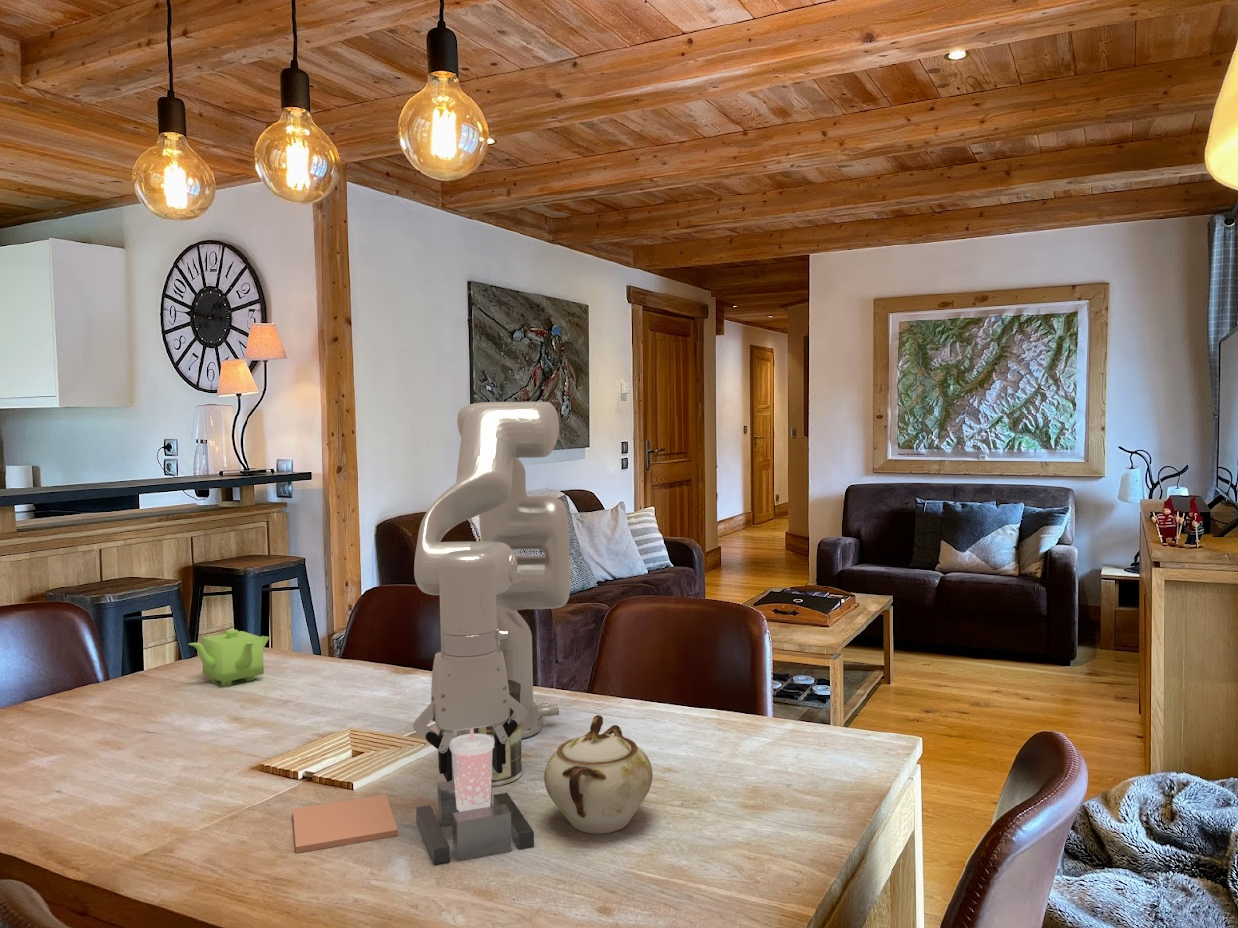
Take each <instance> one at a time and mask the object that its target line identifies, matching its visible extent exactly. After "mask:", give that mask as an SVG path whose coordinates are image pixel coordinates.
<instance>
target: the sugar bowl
mask: <svg viewBox="0 0 1238 928" xmlns="http://www.w3.org/2000/svg"><path fill="white" fill-rule="evenodd" d="M603 725H604V717H603V715H600V714H596V715H595V716H594V717H593V718H592V721H591V724H590V730H589V731H588V732H587V733H586V734H584V735H581V736H577V737H574V738H571V739H569V740H568V739H567V741H564V742H563V743H561V744H560V745H559V746H558V748H557V750H556V751H555V752H553V753H552V755H551V757H550V758H549V759H548V762H547V763H546V766H545V770H544V776H543V781H544V786H545V787H544V788H545V789H546V792H547V794H548V796H549V798H550V799H551V801H552V802H553V803H554V805H555V806H556V807H557V809H558V810H559V811H560V812H561V813H562V814H563V815H564V817H565V818H566V819H567V821H568V822H569V823H570V825H571V826H572V827H573V828H574V829H576V830H578V831H580V832H584V833H587V834H597V835H598V834H600V835H601V834H602V835H603V834H610V833H614V832H617V831H619V830H622V829H624V828H625V827H626V826H627V825H628V824H629V823H630V822H631V820H632V818H633V817H634V815H635V814H636V812H637V811H638V810H639V808H640V807H641V806H642V804H643V802H644V801H645V799H646V797H647V795H648V794H649V792H650V789H651V786H652V783H653V778H654V777H653V767H652V763H651V761H650V758H649V757H648V755H647V754H646V753H645V751H643V749H641V748H640V747H639V746H638V745H637V744H636V742H634V741H633V740H632V739H630V738H628V737H625V736H624V735H623V732H622V729H621V727H620V726H619V725H617V724H614V725H611V726H609V728H608V729H606V730H605V731H604V732H603V733H600V732H601V729H602V726H603ZM613 734H614V735H613Z"/></svg>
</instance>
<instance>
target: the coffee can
mask: <svg viewBox="0 0 1238 928" xmlns="http://www.w3.org/2000/svg"><path fill="white" fill-rule="evenodd" d="M507 680H508V679H507ZM508 688H509V695H511V696H512V697H513V698H514V699H515V700H516V701H518V702H519V703H520V690H521V685H520V684H519V683H518V682H516V681H513V680H508ZM513 713H514V711H513V710H512V709H511V708H510V716H509V718H511V716H512V715H513ZM504 723H505V722H504ZM504 723H502V725H503V724H504ZM456 733H457V734H456V737H458V736H461V735H465V734H470V729H467V730H459V731H456ZM473 733H474V734H475V733H477V734H486V735H490V736H492V737H493V738H494V735H495V733H494V731H493V729H492V727H491V726H487V727H481V728H474V729H473ZM505 748H506V764H502V773H499V774H498V773H497V772H496V771H495V769H494V768H493V766H492V778H491V787H499V786H503V785H507V784H510V783H513V782H515V781H517V780H518V779H519V778H521V777H520V776H522V775H523V773H524V772H523V760H522V758H523V756H522V755H523V754H522V739H521V723H519V725H518V727H517V729H516V730H515V731H514V732H513V733H512V735H511V736H510V737H509V738H508V742H507V743H505Z"/></svg>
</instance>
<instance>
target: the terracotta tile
mask: <svg viewBox="0 0 1238 928" xmlns="http://www.w3.org/2000/svg"><path fill="white" fill-rule="evenodd" d="M394 817H395V816H394V814H393V812H392V808H391V806H390V802H389V800H388V797H387V794H379V795H374V796H367V797H361V798H356V799H353V798H352V799H347V800H341V801H335V802H334V801H333V802H329V803H322V804H317V805H316V804H315V805H310V806H302V807H298V808H297V807H296V808H293V809H292V820H293V832H294V847H295V853H296V854H298V853H305V852H312V851H317V850H322V849H328V848H329V849H330V848H333V847H339V846H346V845H350V844H351V845H352V844H358V843H363V842H368V841H374V840H380V839H386V838H391V837H397V836H399V828H398V826H397V823H396V819H395V818H394Z"/></svg>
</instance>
